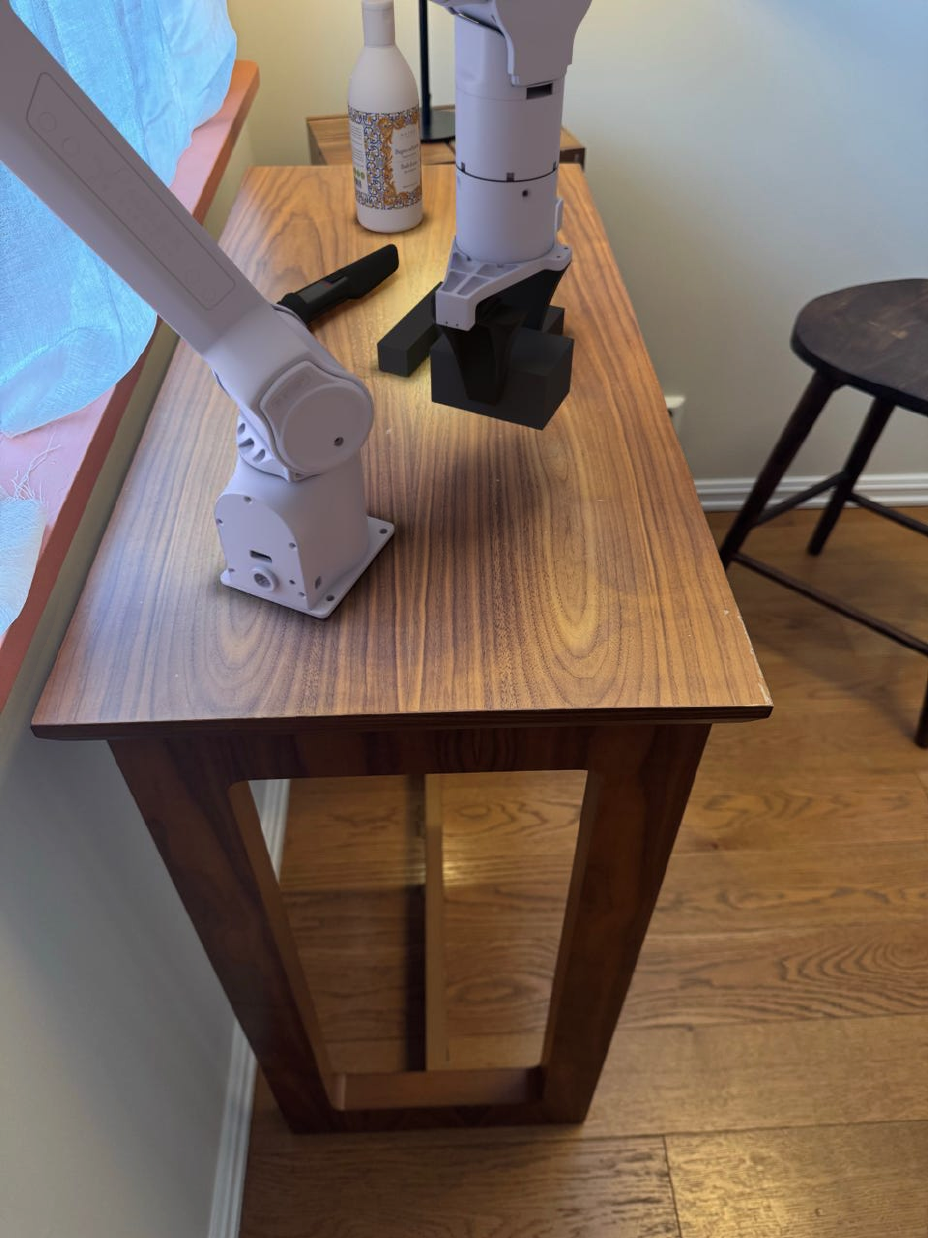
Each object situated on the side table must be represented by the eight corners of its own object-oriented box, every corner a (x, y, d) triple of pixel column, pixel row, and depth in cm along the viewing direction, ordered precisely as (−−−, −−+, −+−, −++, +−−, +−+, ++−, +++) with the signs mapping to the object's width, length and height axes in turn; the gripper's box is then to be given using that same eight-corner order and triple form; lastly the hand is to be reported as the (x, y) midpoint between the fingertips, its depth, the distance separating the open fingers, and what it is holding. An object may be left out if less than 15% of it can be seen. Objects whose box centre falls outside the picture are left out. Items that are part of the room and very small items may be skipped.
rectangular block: (569, 392, 62) (575, 338, 59) (542, 431, 58) (546, 376, 56) (462, 365, 64) (462, 312, 61) (431, 402, 61) (429, 347, 58)
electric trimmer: (410, 279, 88) (409, 247, 86) (296, 343, 79) (291, 309, 77) (381, 268, 90) (379, 236, 87) (266, 330, 81) (260, 296, 79)
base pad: (510, 403, 73) (511, 376, 71) (378, 370, 77) (376, 343, 75) (563, 334, 80) (565, 307, 79) (441, 306, 84) (440, 280, 82)
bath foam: (387, 240, 93) (372, 12, 79) (344, 220, 97) (323, -3, 82) (436, 220, 97) (431, -2, 82) (393, 201, 100) (381, -16, 86)
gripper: (524, 226, 45) (513, 453, 54) (618, 129, 54) (594, 340, 63) (396, 201, 47) (408, 425, 56) (507, 112, 56) (501, 319, 66)
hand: (500, 378), depth 60 cm, fingers closed on rectangular block, 5 cm apart
